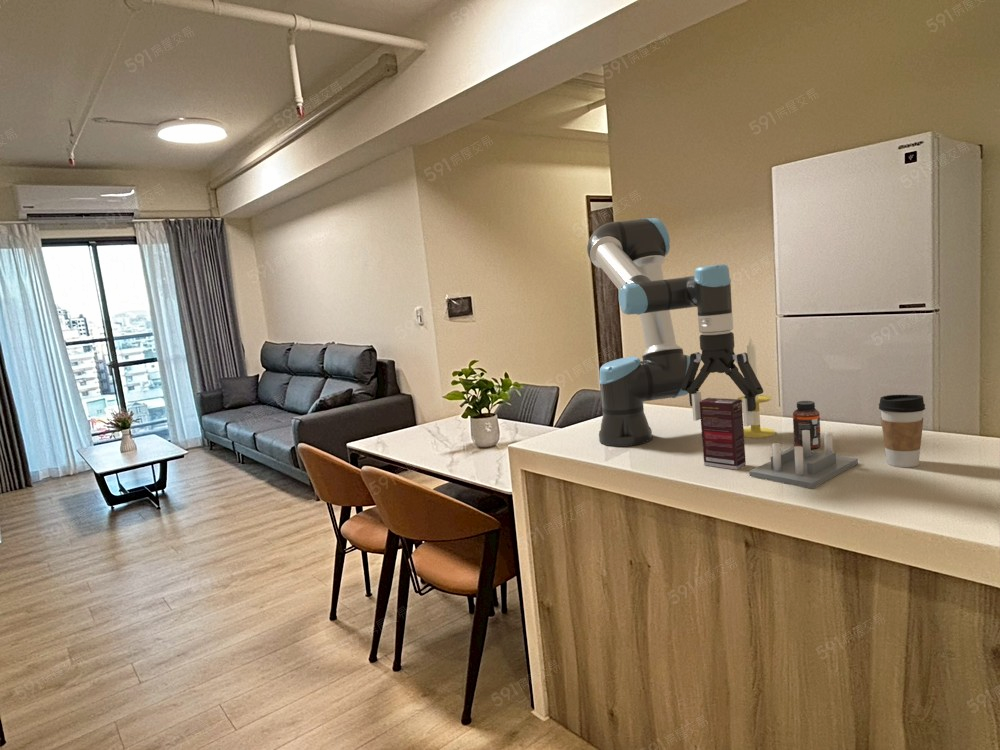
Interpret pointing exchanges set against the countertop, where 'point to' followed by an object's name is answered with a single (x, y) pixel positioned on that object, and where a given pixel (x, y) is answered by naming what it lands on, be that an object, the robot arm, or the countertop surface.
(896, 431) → the coffee cup
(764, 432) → the candle
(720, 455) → the supplement box
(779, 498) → the countertop surface
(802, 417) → the supplement bottle
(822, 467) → the grey pegged stand
